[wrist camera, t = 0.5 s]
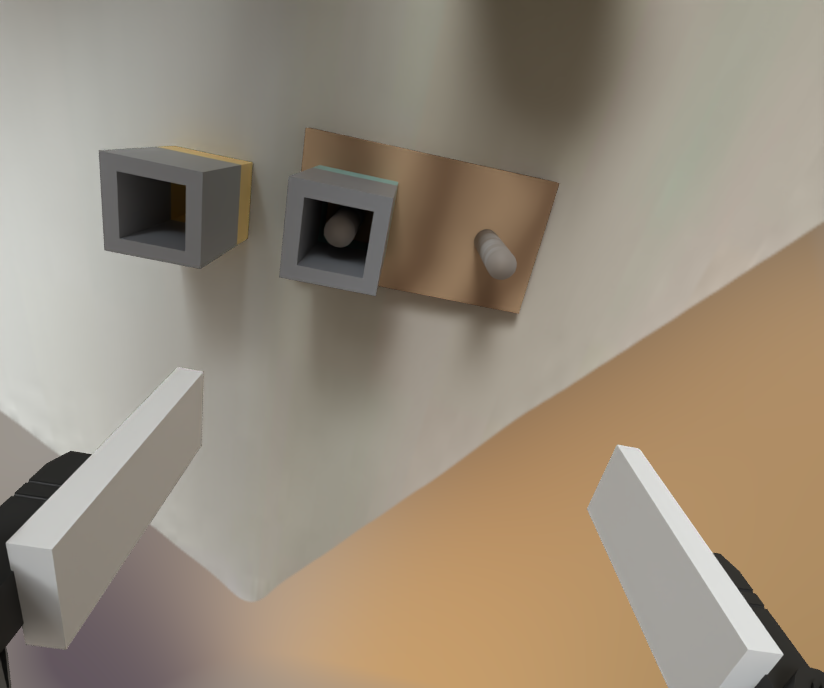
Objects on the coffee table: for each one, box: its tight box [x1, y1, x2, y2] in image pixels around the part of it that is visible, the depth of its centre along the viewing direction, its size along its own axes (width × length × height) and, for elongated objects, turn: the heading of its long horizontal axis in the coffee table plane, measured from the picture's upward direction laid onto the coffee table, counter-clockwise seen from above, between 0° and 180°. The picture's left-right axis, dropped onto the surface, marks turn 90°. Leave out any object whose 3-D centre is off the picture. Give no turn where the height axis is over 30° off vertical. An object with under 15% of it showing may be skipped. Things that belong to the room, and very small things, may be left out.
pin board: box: [301, 128, 559, 314], centre depth 33 cm, size 18×10×8 cm, turn 78°
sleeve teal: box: [279, 165, 398, 296], centre depth 31 cm, size 6×6×9 cm
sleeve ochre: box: [99, 146, 253, 269], centre depth 32 cm, size 6×6×9 cm
